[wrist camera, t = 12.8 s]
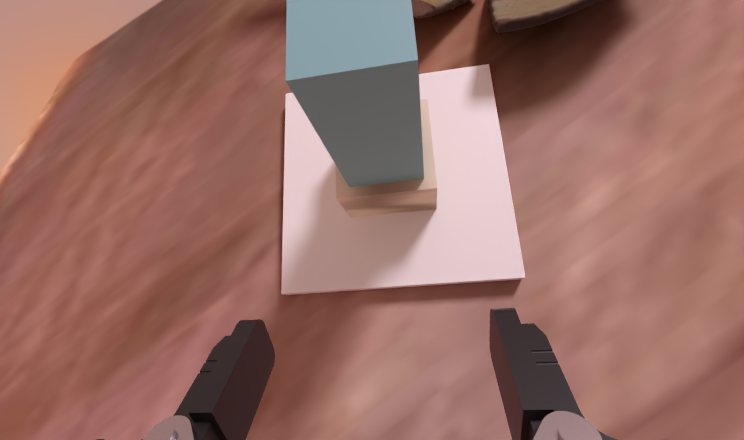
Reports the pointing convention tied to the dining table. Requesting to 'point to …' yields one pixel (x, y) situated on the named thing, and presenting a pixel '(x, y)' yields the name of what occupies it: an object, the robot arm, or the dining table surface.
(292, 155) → the build board
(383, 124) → the tall block
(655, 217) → the dining table surface
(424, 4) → the oil lamp
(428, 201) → the lower block
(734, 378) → the dining table surface
